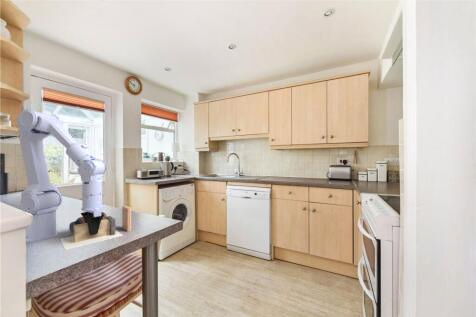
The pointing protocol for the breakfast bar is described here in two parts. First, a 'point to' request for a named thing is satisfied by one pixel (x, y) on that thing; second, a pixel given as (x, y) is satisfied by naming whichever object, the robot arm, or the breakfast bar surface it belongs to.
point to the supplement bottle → (81, 222)
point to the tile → (126, 218)
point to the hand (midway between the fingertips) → (92, 233)
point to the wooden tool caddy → (104, 229)
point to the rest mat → (70, 243)
